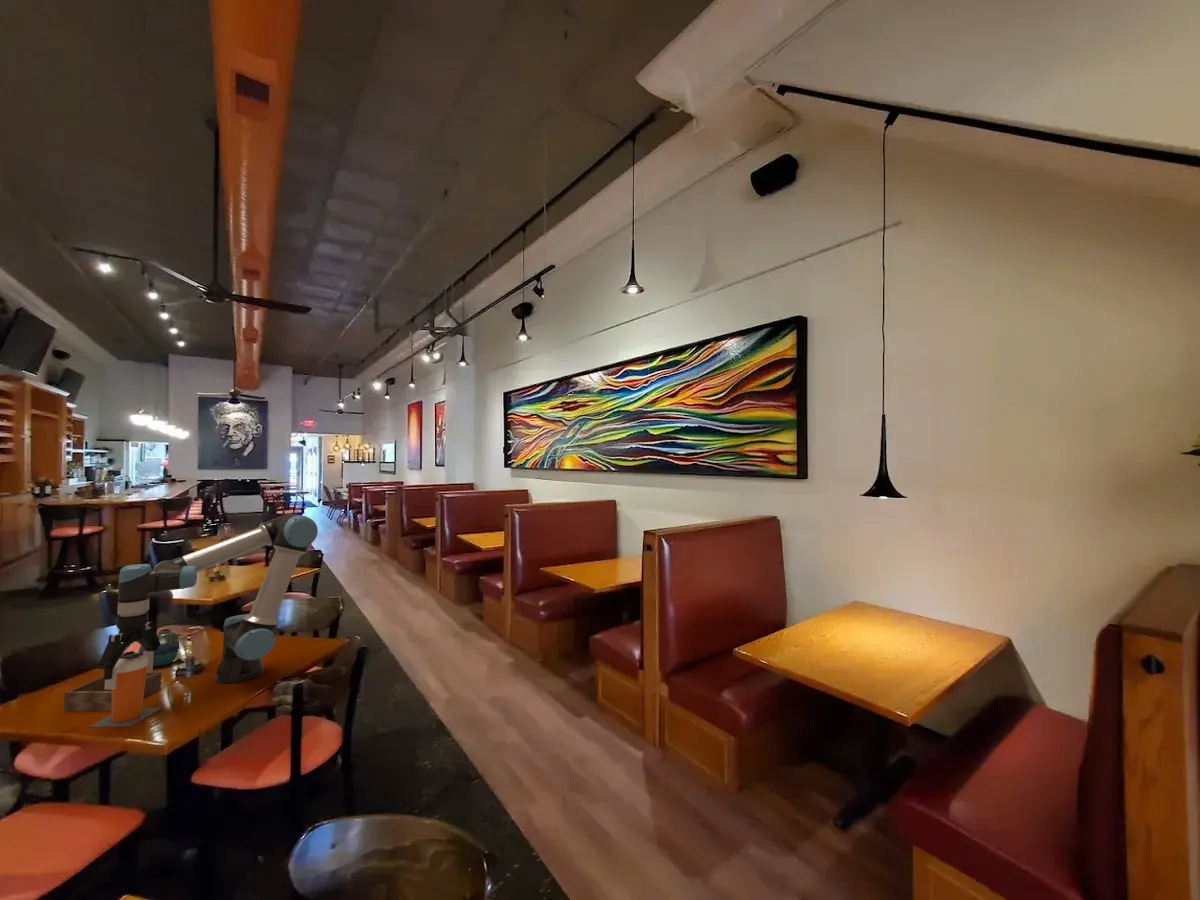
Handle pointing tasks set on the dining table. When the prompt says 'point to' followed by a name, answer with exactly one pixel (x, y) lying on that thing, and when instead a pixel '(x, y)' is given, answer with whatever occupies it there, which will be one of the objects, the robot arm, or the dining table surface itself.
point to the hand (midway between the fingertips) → (129, 679)
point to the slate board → (109, 723)
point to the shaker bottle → (129, 687)
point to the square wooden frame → (102, 694)
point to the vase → (165, 647)
